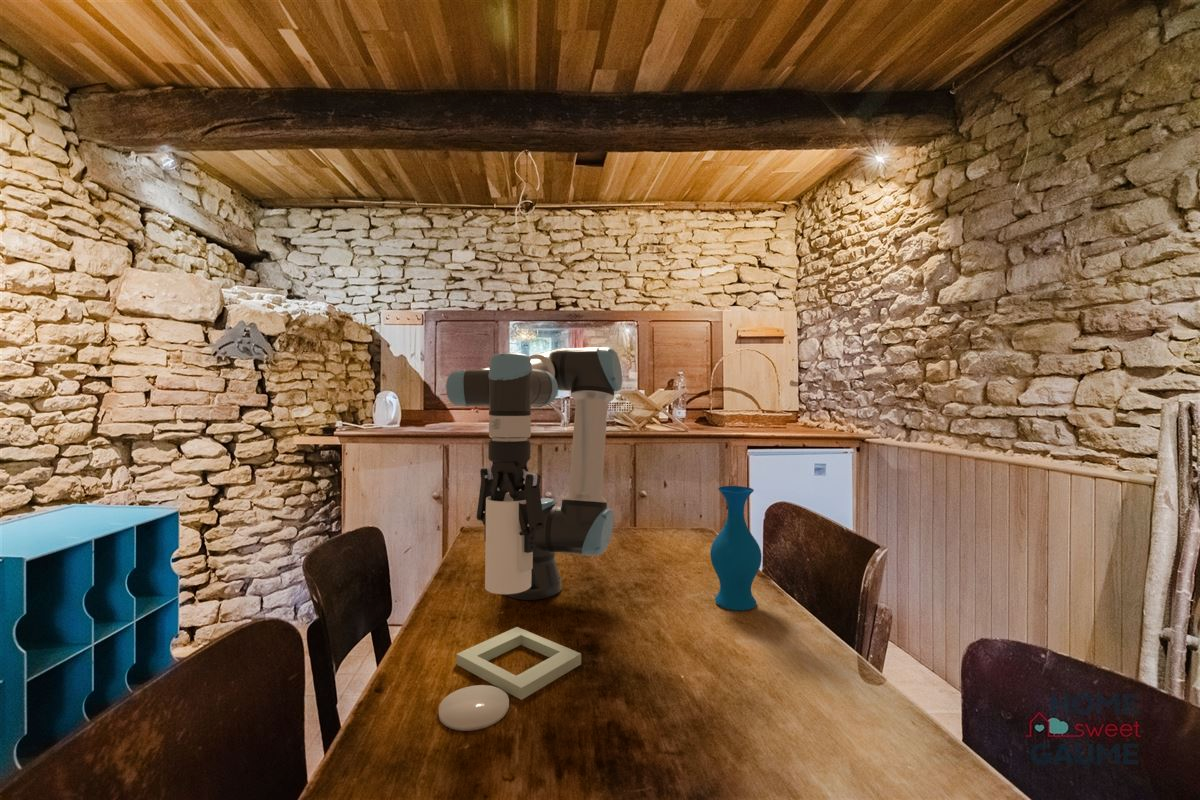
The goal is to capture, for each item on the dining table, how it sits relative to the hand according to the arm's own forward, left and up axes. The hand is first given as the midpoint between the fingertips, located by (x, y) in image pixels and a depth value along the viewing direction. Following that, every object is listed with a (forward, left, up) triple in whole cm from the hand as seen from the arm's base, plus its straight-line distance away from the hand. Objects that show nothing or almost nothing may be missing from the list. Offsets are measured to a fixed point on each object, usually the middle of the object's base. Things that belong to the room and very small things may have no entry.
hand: (508, 565), depth 94 cm
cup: (0, 0, -4) cm, 4 cm away
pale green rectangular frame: (-1, +4, -20) cm, 20 cm away
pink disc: (+4, -10, -20) cm, 23 cm away
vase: (+18, +57, -20) cm, 63 cm away
